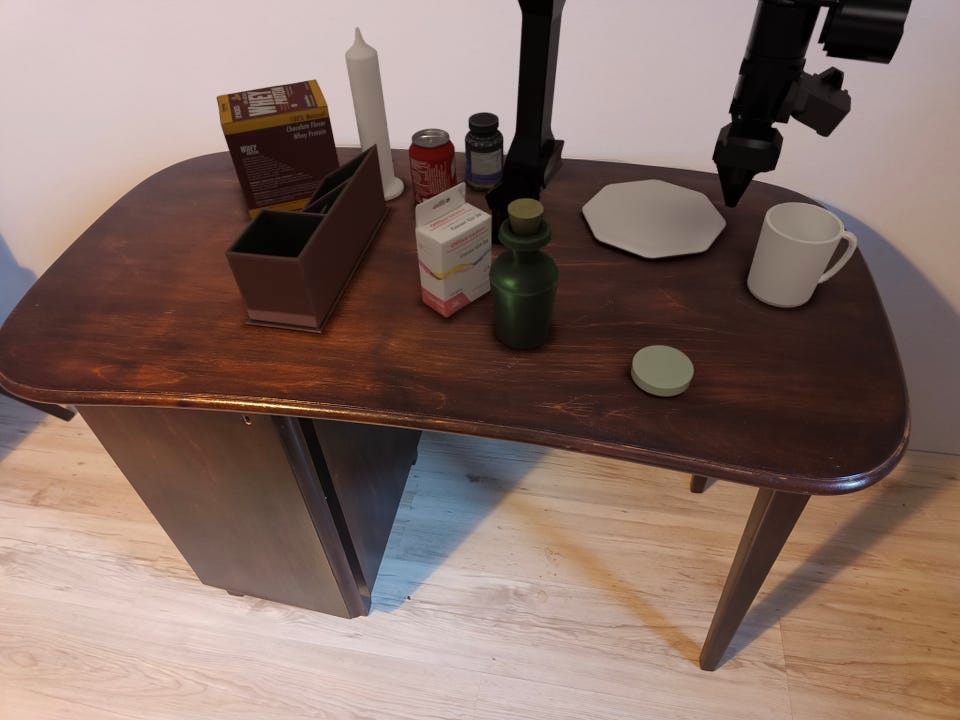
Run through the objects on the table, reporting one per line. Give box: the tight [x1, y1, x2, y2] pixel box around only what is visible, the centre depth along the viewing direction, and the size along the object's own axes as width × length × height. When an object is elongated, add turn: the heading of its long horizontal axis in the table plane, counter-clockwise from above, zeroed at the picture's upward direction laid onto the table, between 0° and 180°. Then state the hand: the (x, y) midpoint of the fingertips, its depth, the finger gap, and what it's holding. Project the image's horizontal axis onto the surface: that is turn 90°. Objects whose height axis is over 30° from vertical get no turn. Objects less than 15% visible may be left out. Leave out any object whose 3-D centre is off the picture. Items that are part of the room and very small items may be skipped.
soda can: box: [408, 128, 458, 210], centre depth 96 cm, size 7×7×12 cm
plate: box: [581, 179, 727, 260], centre depth 95 cm, size 20×20×2 cm
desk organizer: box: [224, 144, 391, 334], centre depth 87 cm, size 10×29×11 cm, turn 168°
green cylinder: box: [630, 344, 695, 397], centre depth 73 cm, size 7×7×2 cm
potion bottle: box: [489, 198, 560, 351], centre depth 73 cm, size 8×8×18 cm
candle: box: [344, 26, 405, 202], centre depth 96 cm, size 7×7×25 cm
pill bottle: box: [464, 111, 505, 193], centre depth 101 cm, size 6×6×11 cm
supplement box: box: [215, 78, 340, 219], centre depth 99 cm, size 10×15×16 cm
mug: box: [746, 201, 858, 309], centre depth 80 cm, size 11×9×10 cm
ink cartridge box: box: [414, 182, 492, 319], centre depth 80 cm, size 9×5×15 cm, turn 134°
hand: (735, 186), depth 75 cm, fingers open, 9 cm apart
